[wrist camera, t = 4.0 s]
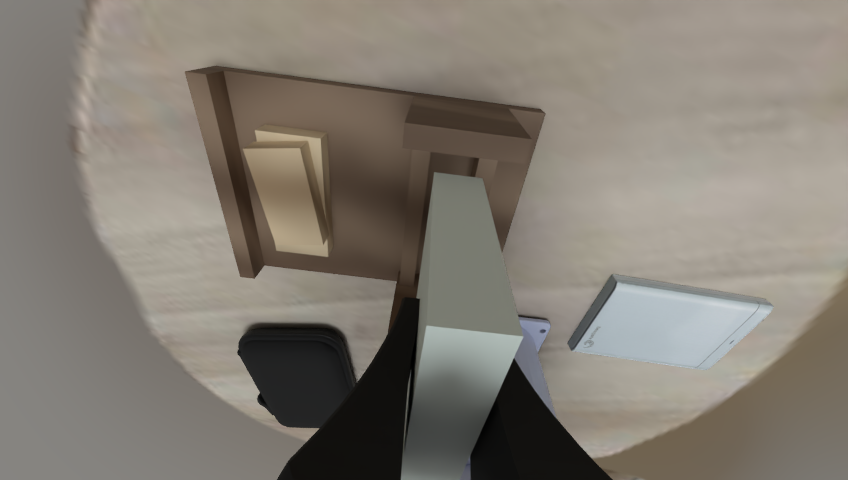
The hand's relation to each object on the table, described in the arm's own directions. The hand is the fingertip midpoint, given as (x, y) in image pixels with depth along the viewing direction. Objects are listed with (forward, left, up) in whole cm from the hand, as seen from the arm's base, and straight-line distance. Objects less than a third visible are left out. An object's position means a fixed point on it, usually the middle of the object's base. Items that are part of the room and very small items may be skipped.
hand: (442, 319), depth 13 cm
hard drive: (-9, -20, -11) cm, 24 cm away
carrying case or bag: (-21, +11, -11) cm, 26 cm away
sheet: (0, 0, -4) cm, 4 cm away
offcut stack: (0, +9, -9) cm, 13 cm away
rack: (0, +4, -10) cm, 11 cm away
